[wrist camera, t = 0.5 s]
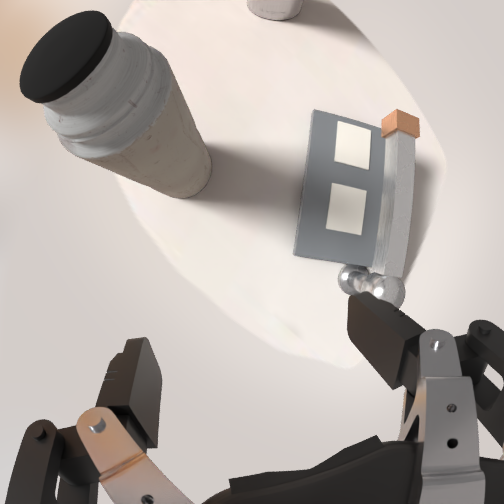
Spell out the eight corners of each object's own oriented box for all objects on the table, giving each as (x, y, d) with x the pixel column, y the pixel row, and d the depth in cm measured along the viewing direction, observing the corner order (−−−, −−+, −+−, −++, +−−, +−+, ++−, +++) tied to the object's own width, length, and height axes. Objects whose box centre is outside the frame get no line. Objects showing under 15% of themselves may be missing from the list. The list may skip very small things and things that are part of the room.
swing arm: (385, 306, 30) (401, 315, 26) (356, 304, 30) (370, 313, 26) (405, 128, 28) (421, 119, 24) (378, 118, 28) (393, 107, 24)
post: (341, 260, 36) (361, 267, 30) (369, 264, 36) (392, 272, 30) (335, 292, 37) (353, 305, 30) (363, 295, 37) (385, 307, 30)
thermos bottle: (178, 130, 34) (81, -20, 6) (224, 161, 35) (184, 2, 7) (142, 176, 34) (-19, 97, 6) (186, 210, 35) (40, 165, 7)
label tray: (311, 112, 34) (314, 108, 33) (387, 134, 35) (391, 131, 34) (292, 254, 36) (294, 255, 34) (373, 267, 37) (378, 268, 35)
